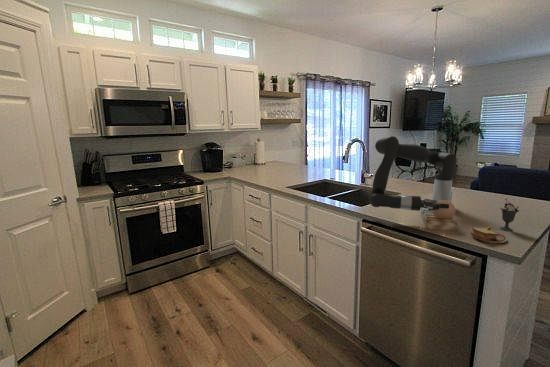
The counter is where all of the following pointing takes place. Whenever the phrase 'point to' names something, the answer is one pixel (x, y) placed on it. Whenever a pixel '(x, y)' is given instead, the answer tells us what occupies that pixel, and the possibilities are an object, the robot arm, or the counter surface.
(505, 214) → the sundae
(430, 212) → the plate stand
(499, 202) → the counter surface
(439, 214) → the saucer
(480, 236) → the toy sandwich meal
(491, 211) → the counter surface
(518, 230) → the counter surface
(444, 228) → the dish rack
